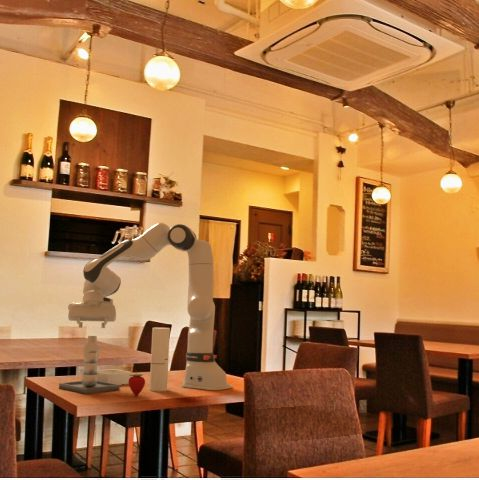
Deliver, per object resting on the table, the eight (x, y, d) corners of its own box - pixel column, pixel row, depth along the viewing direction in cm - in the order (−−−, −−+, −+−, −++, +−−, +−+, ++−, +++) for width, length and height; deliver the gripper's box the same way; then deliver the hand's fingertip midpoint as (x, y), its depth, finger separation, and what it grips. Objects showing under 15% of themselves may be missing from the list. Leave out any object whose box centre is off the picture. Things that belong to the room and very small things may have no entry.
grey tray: (119, 389, 224) (119, 384, 224) (86, 394, 211) (86, 388, 211) (91, 384, 235) (92, 379, 235) (58, 388, 222) (59, 383, 223)
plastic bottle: (85, 388, 219) (88, 336, 221) (78, 385, 224) (81, 335, 226) (100, 386, 223) (103, 336, 225) (92, 384, 228) (95, 335, 230)
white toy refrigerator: (170, 389, 228) (173, 328, 230) (158, 391, 222) (161, 328, 224) (157, 387, 232) (160, 327, 234) (145, 389, 226) (148, 327, 229)
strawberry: (133, 398, 205) (134, 371, 206) (124, 395, 211) (126, 368, 212) (147, 397, 208) (148, 370, 210) (138, 394, 215) (140, 368, 216)
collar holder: (130, 383, 241) (131, 371, 241) (107, 386, 231) (108, 374, 232) (112, 380, 249) (113, 368, 249) (89, 382, 239) (90, 371, 239)
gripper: (68, 297, 243) (66, 321, 232) (116, 299, 249) (116, 322, 238) (68, 307, 247) (66, 331, 236) (115, 309, 252) (115, 332, 242)
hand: (92, 326), depth 237 cm, fingers open, 8 cm apart
